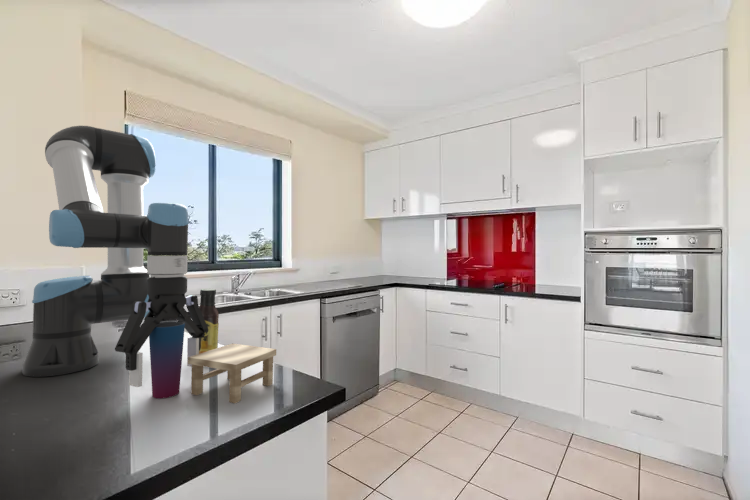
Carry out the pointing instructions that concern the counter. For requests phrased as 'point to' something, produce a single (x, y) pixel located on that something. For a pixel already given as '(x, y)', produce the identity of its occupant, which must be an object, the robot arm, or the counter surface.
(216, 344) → the sauce bottle
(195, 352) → the robot arm
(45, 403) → the counter surface
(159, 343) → the cup
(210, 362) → the beige streaked flat-top fixture
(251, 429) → the counter surface
